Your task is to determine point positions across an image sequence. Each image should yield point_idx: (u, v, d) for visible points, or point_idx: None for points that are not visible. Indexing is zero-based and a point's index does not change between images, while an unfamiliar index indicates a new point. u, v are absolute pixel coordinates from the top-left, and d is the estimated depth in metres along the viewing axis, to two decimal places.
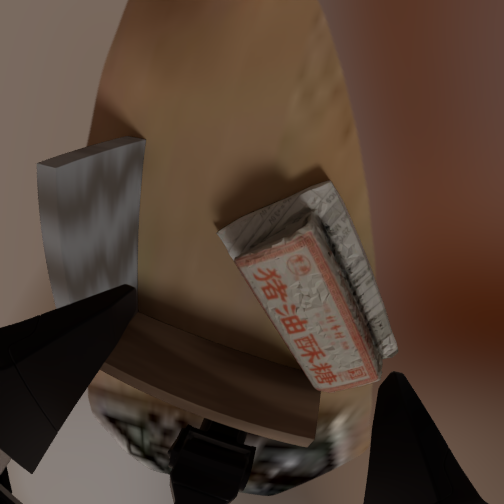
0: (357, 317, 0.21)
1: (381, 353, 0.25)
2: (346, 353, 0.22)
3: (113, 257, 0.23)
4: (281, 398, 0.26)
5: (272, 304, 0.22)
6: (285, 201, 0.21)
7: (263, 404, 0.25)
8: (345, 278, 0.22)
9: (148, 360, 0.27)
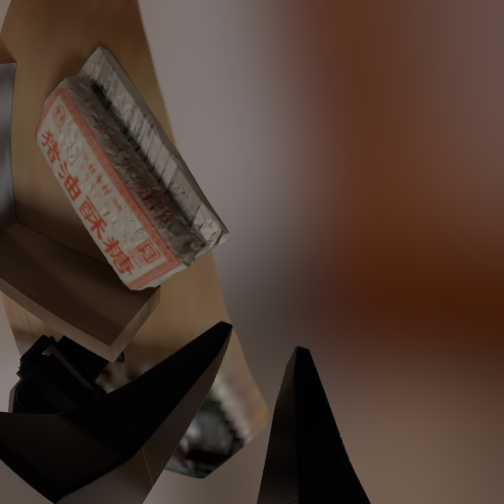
0: (123, 166, 0.17)
1: (201, 238, 0.21)
2: (123, 218, 0.18)
3: None
4: (96, 297, 0.22)
5: (55, 168, 0.18)
6: None
7: (73, 299, 0.21)
8: (121, 132, 0.18)
9: (1, 254, 0.22)
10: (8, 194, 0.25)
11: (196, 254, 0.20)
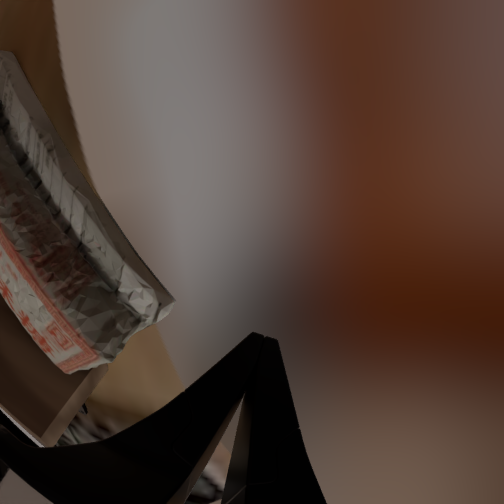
0: (10, 217, 0.10)
1: (133, 311, 0.13)
2: (23, 290, 0.11)
3: None
4: (29, 367, 0.15)
5: None
6: None
7: (5, 367, 0.14)
8: (17, 163, 0.11)
9: None
10: None
11: (125, 338, 0.12)
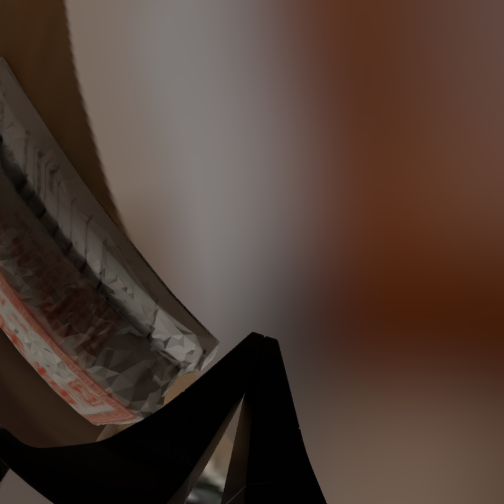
0: (11, 258, 0.08)
1: (171, 359, 0.11)
2: (36, 343, 0.09)
3: None
4: (45, 408, 0.13)
5: None
6: None
7: (17, 408, 0.12)
8: (14, 188, 0.09)
9: None
10: None
11: (164, 391, 0.10)
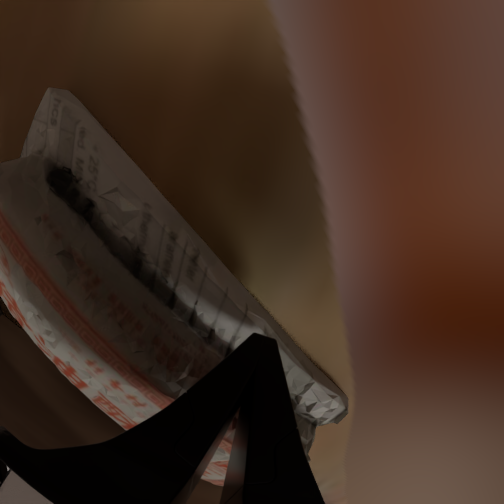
0: (158, 363, 0.08)
1: (310, 418, 0.11)
2: None
3: None
4: None
5: (30, 336, 0.09)
6: (21, 156, 0.09)
7: None
8: (129, 271, 0.09)
9: None
10: None
11: (309, 448, 0.11)
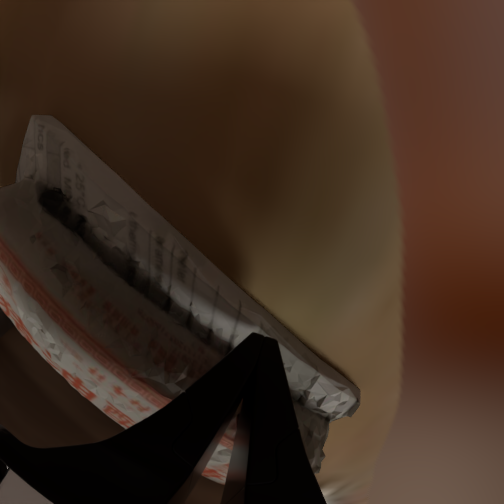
0: (156, 365, 0.08)
1: (322, 413, 0.11)
2: None
3: None
4: (204, 492, 0.12)
5: (39, 352, 0.10)
6: (16, 183, 0.10)
7: None
8: (124, 280, 0.10)
9: (7, 398, 0.12)
10: None
11: (323, 444, 0.10)
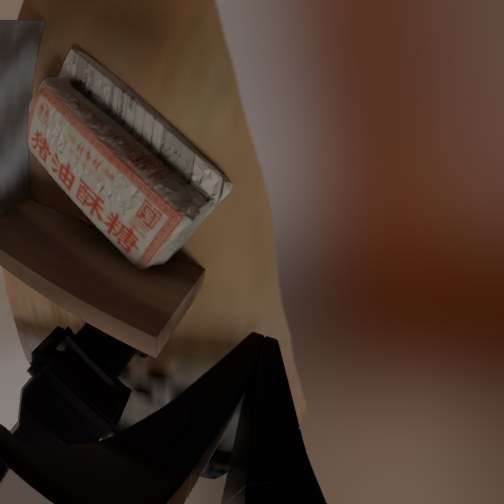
0: (109, 136, 0.16)
1: (204, 193, 0.19)
2: (118, 186, 0.17)
3: None
4: (133, 281, 0.20)
5: (48, 165, 0.18)
6: None
7: (105, 283, 0.19)
8: (104, 112, 0.18)
9: (13, 232, 0.20)
10: (23, 166, 0.23)
11: (200, 208, 0.18)
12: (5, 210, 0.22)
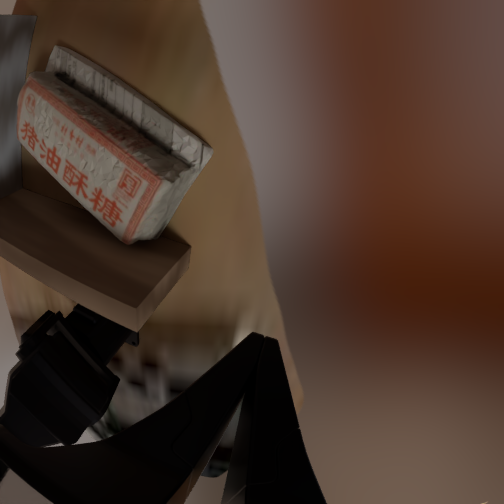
0: (90, 114, 0.16)
1: (184, 160, 0.18)
2: (100, 160, 0.17)
3: None
4: (117, 257, 0.19)
5: (37, 153, 0.18)
6: None
7: (89, 258, 0.18)
8: (87, 97, 0.17)
9: (4, 216, 0.20)
10: (15, 155, 0.22)
11: (181, 173, 0.18)
12: None
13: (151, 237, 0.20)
